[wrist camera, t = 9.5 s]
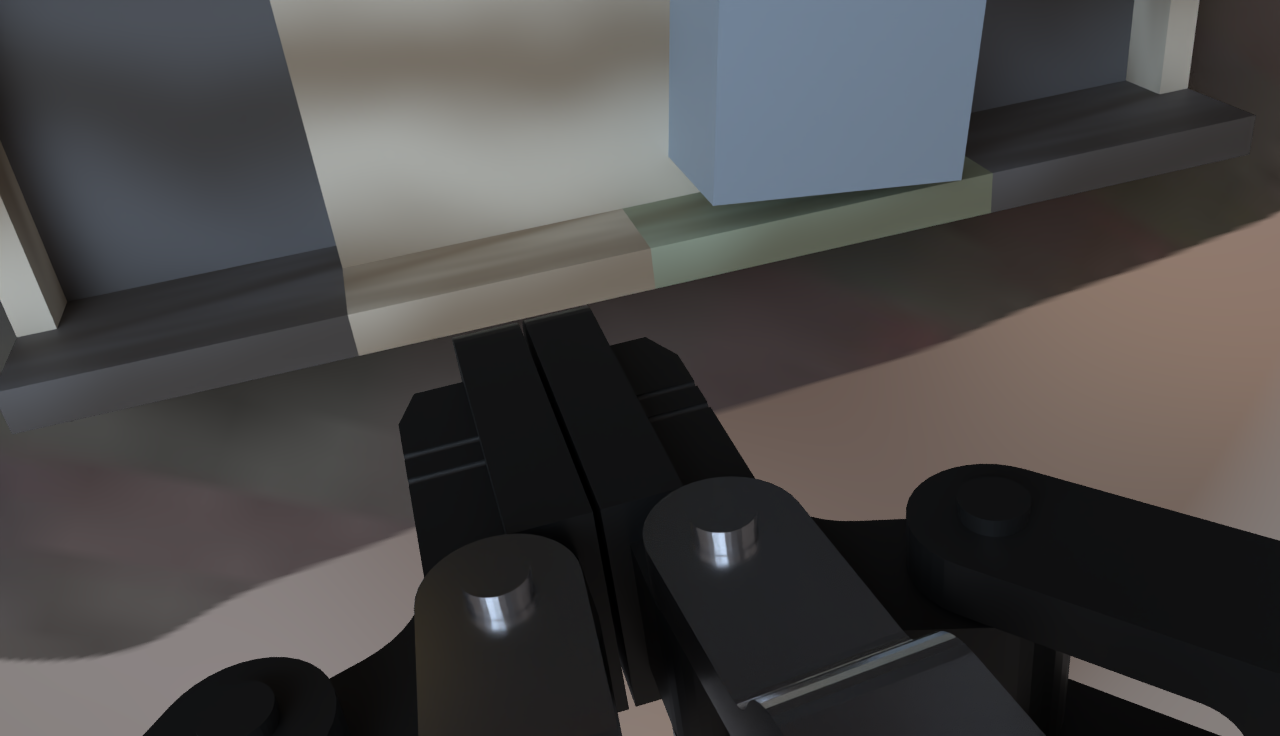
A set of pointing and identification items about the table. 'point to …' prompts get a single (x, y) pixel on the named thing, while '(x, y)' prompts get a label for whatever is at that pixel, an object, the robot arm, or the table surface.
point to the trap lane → (457, 172)
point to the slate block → (820, 94)
